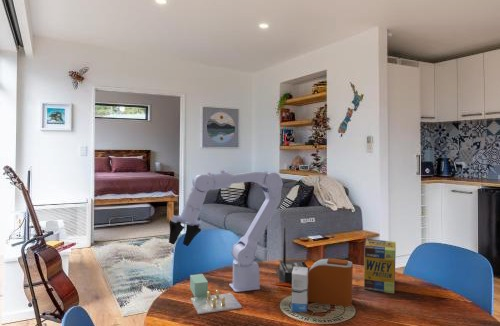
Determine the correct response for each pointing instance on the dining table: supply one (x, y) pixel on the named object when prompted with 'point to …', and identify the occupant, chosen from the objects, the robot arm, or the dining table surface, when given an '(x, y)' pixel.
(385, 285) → the protein box
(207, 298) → the standoff posts
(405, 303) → the dining table surface
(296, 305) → the ink box
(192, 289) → the mint green cuboid
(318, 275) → the brown toaster
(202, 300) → the plate
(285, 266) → the wireless controller
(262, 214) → the robot arm
